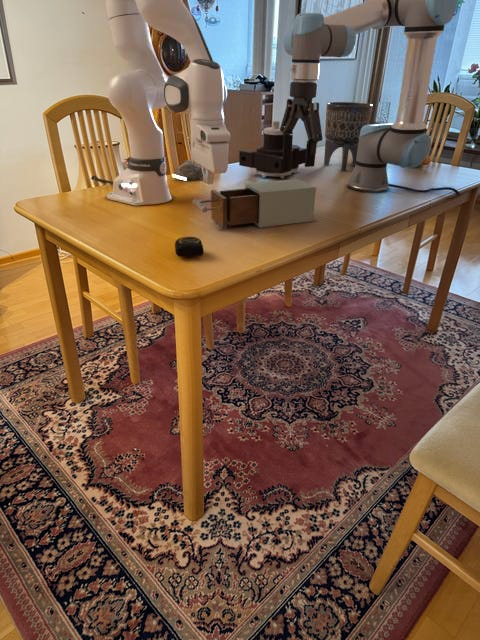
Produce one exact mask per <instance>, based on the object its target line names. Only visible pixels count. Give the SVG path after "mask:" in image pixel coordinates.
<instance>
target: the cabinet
mask: <svg viewBox="0 0 480 640" xmlns="http://www.w3.org/2000/svg"><path fill="white" fill-rule="evenodd" d="M246 188H249V189H251V190H253V191H254V192H256V193H258V194H259V195H260V197H259V222H255V223H253V225H255V226H256V227H258V228H259V229H260V228H266V227H277V226H284V225H289V224H290V225H291V224H299V223H300V224H301V223H307V222H313V221H314V213H315V203H316V194H317V193H316V192H317V187H316V186H314V185H313V184H310V183H308V182H306V181H303V180H302V179H300V178H294V179H280V180H271V181H270V180H269V181H259V182H247V183H245V184H244V189H246Z"/></svg>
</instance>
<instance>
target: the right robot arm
mask: <svg viewBox="0 0 480 640" xmlns="http://www.w3.org/2000/svg"><path fill="white" fill-rule="evenodd" d="M457 4H458V0H365V1H363V2H360V3H358V4H356V5H353V6H351V7H348V8H346V9H343V10H341V11H338V12H336V13H335V12H334V13H332V14H330V15H327V16H324V15H323V14H322V13H317V12H301V13H298V14H297V15H296V16H295V18H294V25H293V26H291V27H289V28H288V29H287V30H286V32H285V33H284V36H283V48H284V51H285V52H286V53H287V55H289V56H291V67H290V80H291V82H290V83H289V97H290V98H287V99H286V104H285V105H286V106H285V110H284V114H283V117H282V120H281V123H280V126H279V128H280V131H282V132H283V135H284V140H283V156H282V158H291V154H292V145H293V139H294V132H293V131H294V129H295V127H296V125H297V123H298V121H299V119H300V120H301V121H302V122H303V125H304V129H305V132H306V136H307V140H306V145H305V146H306V147H305V149H306V158H305V163H304V167H305V168H310V167H311V168H313V167H315V165H316V164H315V163H316V153H317V147H318V143H319V142H322V141H323V131H322V125H321V117H320V103H319V102H313V99H314V98H315V99H316V98H317V96H318V85H319V84H318V82H317V81H319V76H320V66H321V65H320V63H321V57H324V58H343V57H345V58H346V57H348V56H350V55H351V54H352V53H353V51H354V50H355V47H356V44H357V35H359V34H360V33H364V32H366V31H368V30H371V29H372V30H379V29H382V28H387V27H388V28H389V27H404V29H403V34H404V35H405V37H406V38H407V43H406V52H405V59H404V65H403V73H402V79H401V87H400V93H399V101H398V108H397V115H396V120H395V122H393V123H379V124H376V123H375V124H369V125H365V126H363V127H362V128H361V132H360V136H359V142H358V150H357V158H356V165H355V166H354V167H353V171H351V174H350V176H349V179H348V182H347V187H348V188H349V189H351V190H354V191H358V192H363V193H364V192H365V193H382V192H386V191H388V189H389V187H390V188H395V189H401V190H406V191H410V192H414V193H420V194H421V193H422V194H423V193H424V194H425V193H429V192H436V191H451V192H454V193H455V194H456V195H460V194H461V193H460V192H459V190H457V189H456V188H455V187H450V186H445V187H443V186H442V187H431V188H426V189H416V188H413V187H412V188H411V187H407V186H404V185H397V184H392V183H389V178H388V173H387V172H388V171H387V166H388V165H392V166H396V167H400V168H407V169H414V168H417V167H418V166H419V165H420V164H421V163H422V162H423V161H424V160H425V158H428V155H429V153H430V150H431V146H432V139H431V136H430V135H429V134H428V133H426V132H427V127H428V126H427V125H426V123H425V122H424V117H425V110H426V104H427V99H428V93H429V88H430V81H431V76H432V70H433V65H434V59H435V53H436V47H437V41H438V39H439V37H440V36H441V35H442V34H443V33H444V30H445V26H446V25H447V24H449V23H450V22H451V21H452V20H453V17H454V16H455V14H456V10H457V7H458V6H457Z"/></svg>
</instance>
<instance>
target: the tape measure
mask: <svg viewBox="0 0 480 640" xmlns="http://www.w3.org/2000/svg"><path fill="white" fill-rule="evenodd" d="M174 249H175V251H174V252H175V255H176V256H178V257H185V258H191V257H201V256H203V255H204V254H205V251H204V246H203V242H202V240H201V239H200V238H199V237H196V236H182V237H179V238H177V239H176V240H175V242H174Z"/></svg>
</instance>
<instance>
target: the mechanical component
mask: <svg viewBox="0 0 480 640" xmlns="http://www.w3.org/2000/svg"><path fill="white" fill-rule="evenodd" d="M280 124H281V123H280V121H279V120H272V126H271V127H265V128H264V129H263V145H262V146H258V147H257V148H256V151H250V150H245V149H241V150H239V153H238V154H239V155H238V157H239V159H238V166H240V167H245V168H250V169H255V173H256V174H257V175H261V177H262V178H267V177H279V178H280V179H285V176H291V175H292V173H298V171H299V167H300V165H303V164H304V165H305V158H306V147H305V148H304V147H301V146H299V145H297V144H292V154H291V158H282V156H283V140H284V135H283V132H282V131H280Z"/></svg>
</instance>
